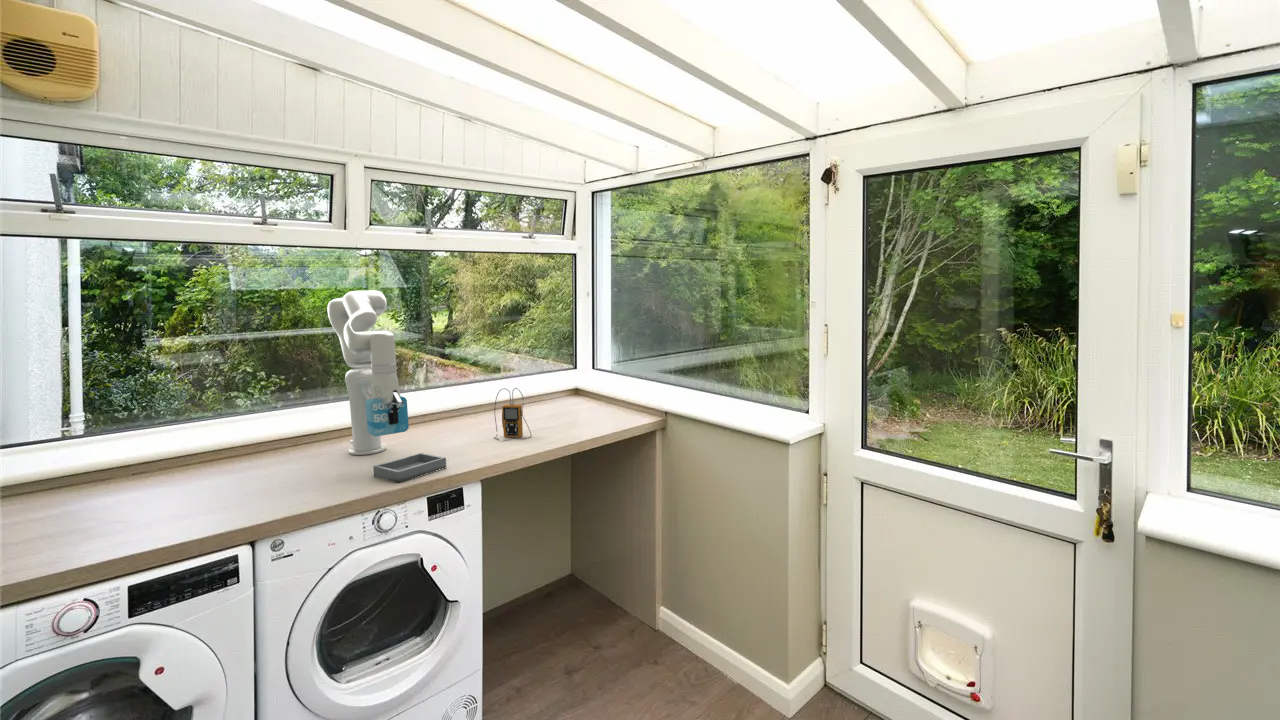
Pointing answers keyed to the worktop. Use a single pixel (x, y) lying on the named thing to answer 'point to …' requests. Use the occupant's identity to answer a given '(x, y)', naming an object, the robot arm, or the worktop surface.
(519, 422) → the multimeter
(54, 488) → the worktop surface
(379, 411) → the data package
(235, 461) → the worktop surface
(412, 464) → the parts tray
